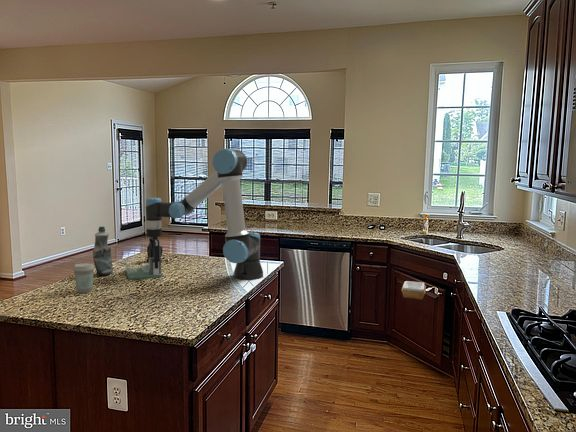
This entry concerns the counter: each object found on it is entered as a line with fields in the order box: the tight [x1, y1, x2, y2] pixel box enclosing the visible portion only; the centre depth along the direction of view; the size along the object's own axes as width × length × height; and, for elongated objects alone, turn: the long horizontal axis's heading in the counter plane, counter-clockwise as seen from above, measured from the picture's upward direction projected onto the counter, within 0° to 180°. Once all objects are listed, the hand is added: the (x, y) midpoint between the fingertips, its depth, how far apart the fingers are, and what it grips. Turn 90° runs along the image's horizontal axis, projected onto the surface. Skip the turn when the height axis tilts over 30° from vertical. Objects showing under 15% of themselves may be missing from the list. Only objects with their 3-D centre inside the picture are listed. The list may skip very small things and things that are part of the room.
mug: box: [145, 242, 163, 264], centre depth 246 cm, size 12×9×11 cm
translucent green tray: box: [124, 262, 164, 281], centre depth 218 cm, size 20×16×6 cm
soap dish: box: [401, 280, 427, 301], centre depth 188 cm, size 12×10×5 cm
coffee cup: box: [72, 262, 96, 294], centre depth 186 cm, size 8×8×12 cm
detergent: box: [92, 225, 114, 276], centre depth 214 cm, size 13×7×25 cm, turn 164°
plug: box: [149, 257, 162, 275], centre depth 216 cm, size 4×5×8 cm
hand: (154, 272), depth 216 cm, fingers closed on translucent green tray, 7 cm apart
